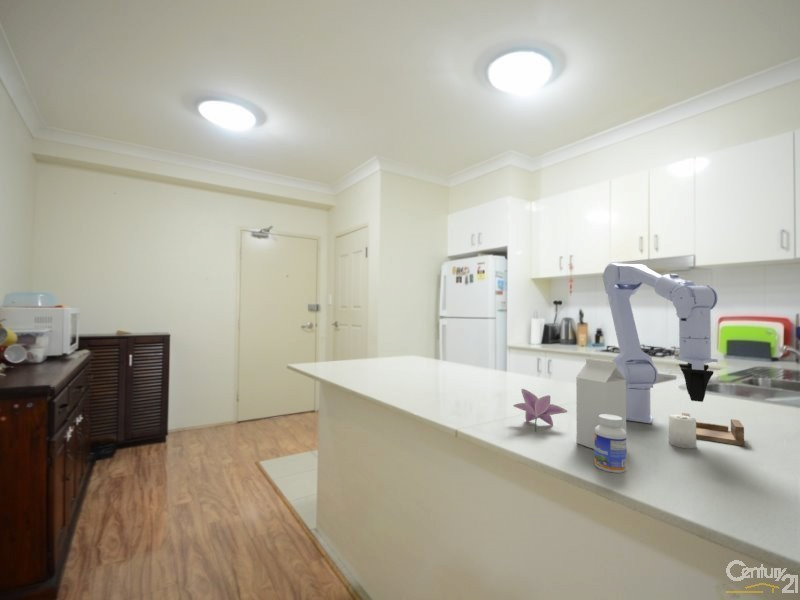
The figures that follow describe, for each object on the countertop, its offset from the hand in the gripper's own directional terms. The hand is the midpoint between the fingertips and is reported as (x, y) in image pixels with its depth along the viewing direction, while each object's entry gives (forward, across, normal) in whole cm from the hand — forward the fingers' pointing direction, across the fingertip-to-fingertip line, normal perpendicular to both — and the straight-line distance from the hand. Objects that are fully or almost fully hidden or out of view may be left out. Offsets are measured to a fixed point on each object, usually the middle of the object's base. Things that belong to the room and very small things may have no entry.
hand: (695, 397), depth 88 cm
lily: (+11, -8, +33) cm, 35 cm away
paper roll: (+10, -2, +3) cm, 11 cm away
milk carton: (+11, -14, +18) cm, 25 cm away
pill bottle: (+11, -26, +15) cm, 32 cm away
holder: (+10, +8, -4) cm, 14 cm away
